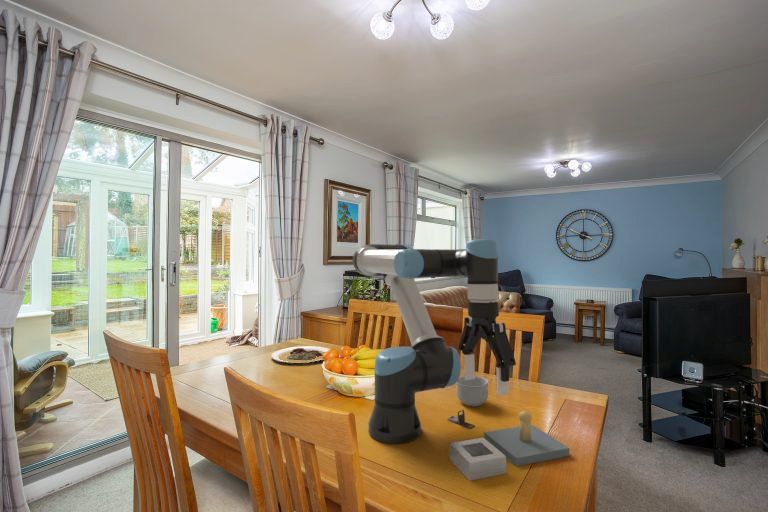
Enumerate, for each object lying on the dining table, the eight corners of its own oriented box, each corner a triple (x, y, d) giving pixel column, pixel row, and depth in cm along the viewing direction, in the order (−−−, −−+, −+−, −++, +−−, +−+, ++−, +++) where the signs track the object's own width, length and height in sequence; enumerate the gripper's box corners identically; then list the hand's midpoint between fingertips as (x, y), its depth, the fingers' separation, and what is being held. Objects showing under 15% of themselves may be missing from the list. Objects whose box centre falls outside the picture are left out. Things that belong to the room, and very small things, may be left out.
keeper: (516, 466, 92) (516, 426, 92) (484, 439, 106) (484, 404, 105) (569, 455, 97) (569, 418, 97) (532, 431, 110) (532, 398, 110)
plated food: (302, 370, 168) (302, 362, 168) (258, 359, 184) (258, 352, 184) (345, 355, 193) (345, 348, 193) (303, 347, 209) (303, 340, 209)
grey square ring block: (469, 480, 86) (469, 463, 86) (449, 458, 95) (449, 443, 95) (506, 473, 89) (506, 456, 89) (483, 452, 98) (483, 437, 98)
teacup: (489, 410, 125) (489, 386, 125) (455, 408, 127) (455, 384, 127) (486, 395, 138) (486, 373, 138) (456, 393, 141) (456, 371, 141)
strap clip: (446, 421, 118) (446, 407, 118) (452, 418, 120) (452, 404, 120) (469, 430, 112) (469, 416, 112) (475, 427, 114) (475, 413, 114)
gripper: (530, 304, 85) (533, 400, 85) (467, 297, 109) (469, 372, 108) (503, 305, 83) (505, 404, 82) (444, 298, 106) (446, 375, 105)
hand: (485, 386), depth 95 cm, fingers open, 13 cm apart
